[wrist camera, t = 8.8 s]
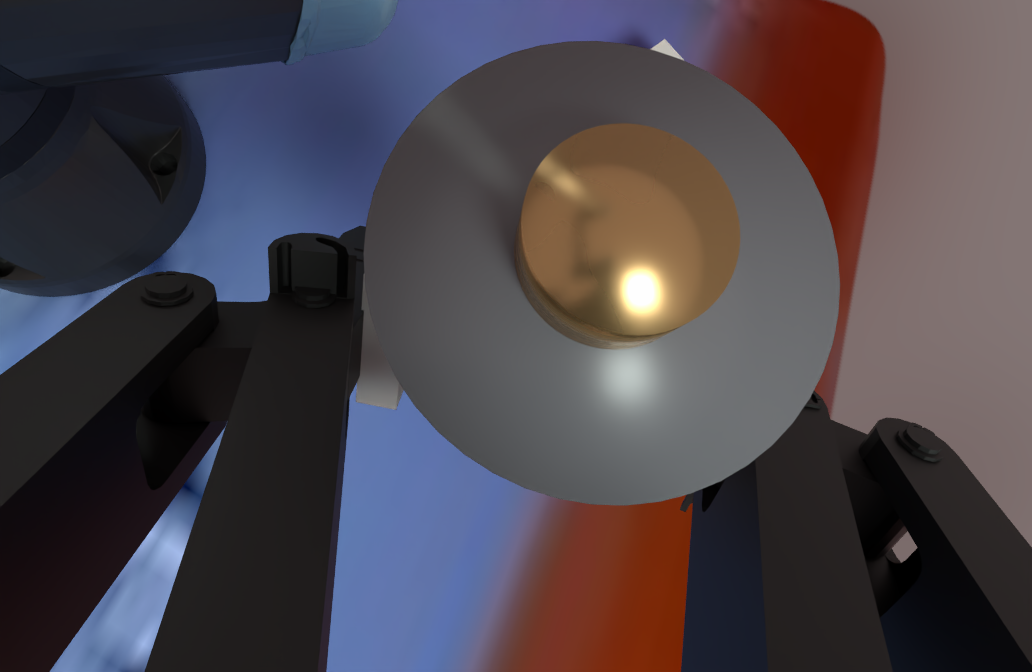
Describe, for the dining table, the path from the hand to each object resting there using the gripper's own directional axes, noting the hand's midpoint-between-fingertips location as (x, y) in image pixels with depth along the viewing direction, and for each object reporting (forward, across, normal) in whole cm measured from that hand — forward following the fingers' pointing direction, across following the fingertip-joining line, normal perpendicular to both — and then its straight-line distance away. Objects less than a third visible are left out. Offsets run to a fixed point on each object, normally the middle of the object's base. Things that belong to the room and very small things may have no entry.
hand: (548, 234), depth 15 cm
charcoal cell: (0, 0, -6) cm, 6 cm away
